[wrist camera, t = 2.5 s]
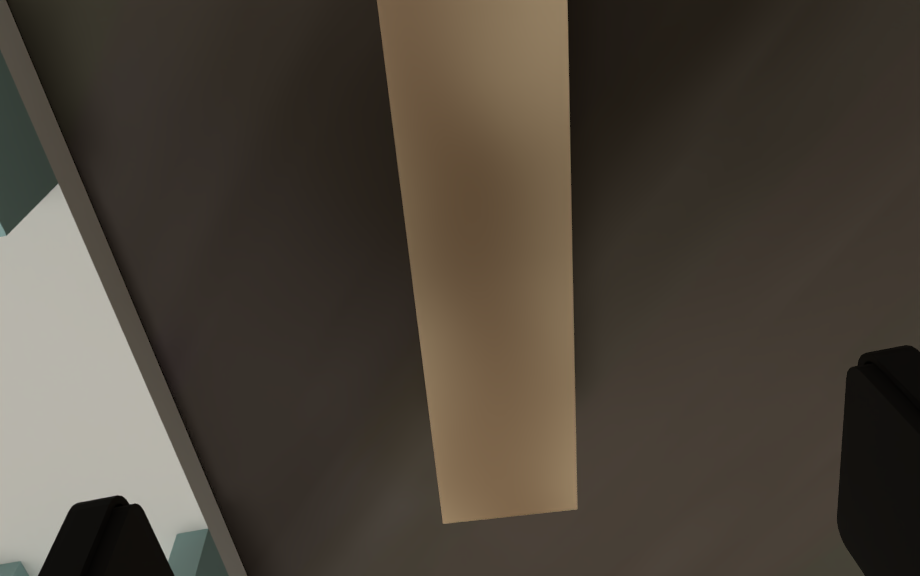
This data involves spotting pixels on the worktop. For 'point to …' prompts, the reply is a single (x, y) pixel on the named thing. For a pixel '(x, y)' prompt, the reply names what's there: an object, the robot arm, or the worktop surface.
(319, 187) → the worktop surface
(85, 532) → the robot arm
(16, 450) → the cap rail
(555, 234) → the light brown long block
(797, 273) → the worktop surface
